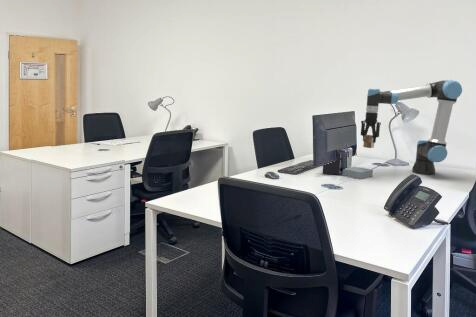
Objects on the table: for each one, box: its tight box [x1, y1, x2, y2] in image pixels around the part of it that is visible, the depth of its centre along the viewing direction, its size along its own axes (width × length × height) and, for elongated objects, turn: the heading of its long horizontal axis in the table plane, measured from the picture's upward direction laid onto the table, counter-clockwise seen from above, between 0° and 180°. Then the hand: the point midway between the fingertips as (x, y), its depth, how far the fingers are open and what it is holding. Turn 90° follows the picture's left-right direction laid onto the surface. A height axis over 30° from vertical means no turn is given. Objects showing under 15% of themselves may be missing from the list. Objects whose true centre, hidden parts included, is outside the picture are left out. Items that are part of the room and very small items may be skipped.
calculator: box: [322, 153, 341, 176], centre depth 281 cm, size 11×4×15 cm, turn 84°
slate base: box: [341, 166, 374, 180], centre depth 277 cm, size 14×14×5 cm
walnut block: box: [362, 134, 375, 149], centre depth 277 cm, size 5×5×8 cm
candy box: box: [347, 147, 354, 168], centre depth 298 cm, size 14×6×16 cm, turn 5°
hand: (368, 146), depth 277 cm, fingers closed on walnut block, 5 cm apart
